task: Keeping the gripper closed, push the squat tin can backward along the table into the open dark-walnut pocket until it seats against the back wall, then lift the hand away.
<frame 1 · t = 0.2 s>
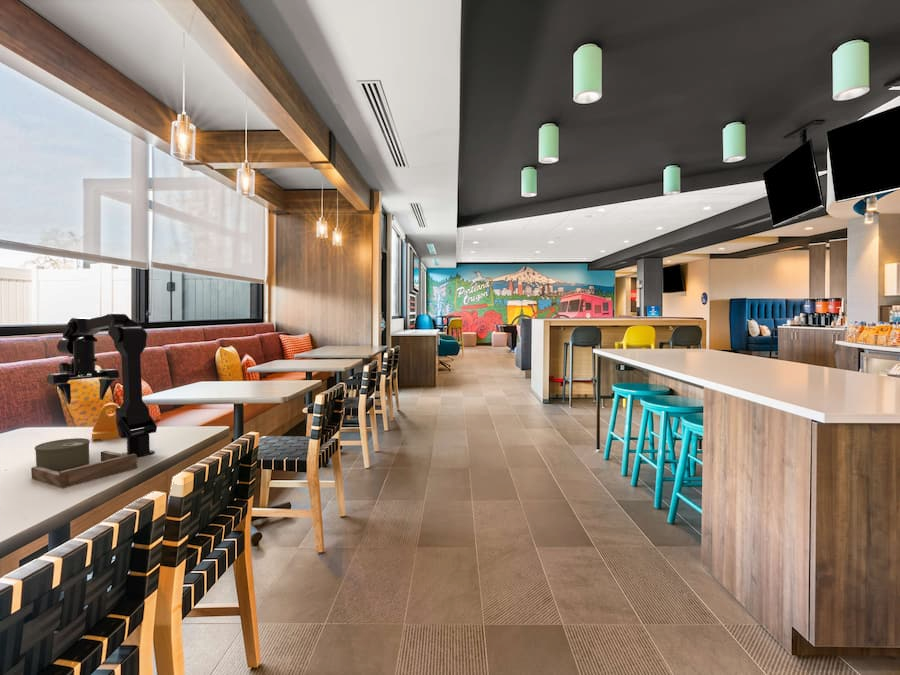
hand: (85, 401, 156), 14 cm above the table, fingers open, 9 cm apart
pocket: (84, 472, 127), on the table
bracket: (111, 438, 165), on the table
can: (63, 468, 132), on the table
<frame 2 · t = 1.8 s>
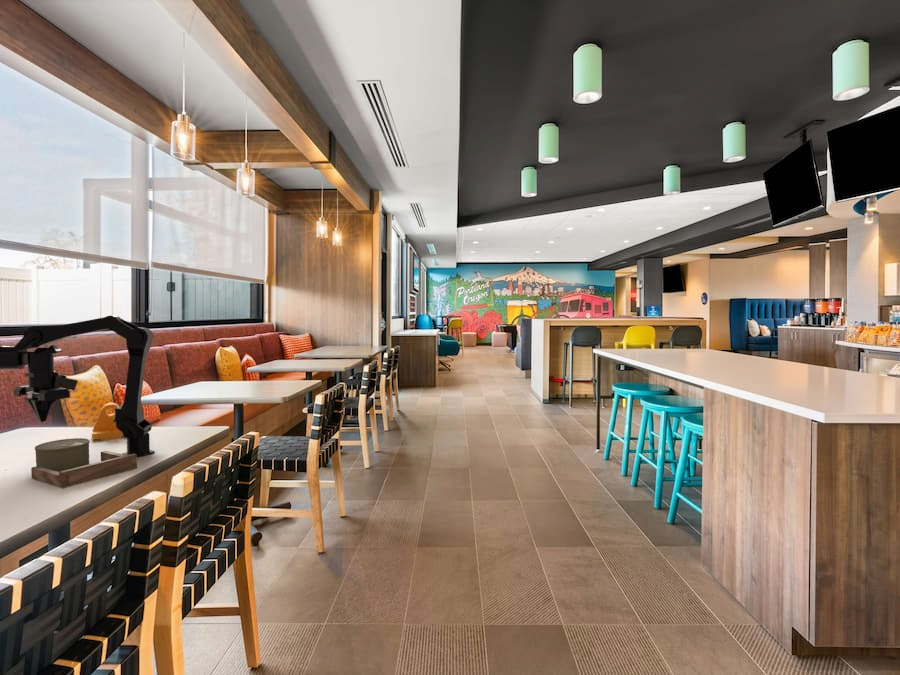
hand: (42, 421, 137), 12 cm above the table, fingers closed
nothing on the table moved.
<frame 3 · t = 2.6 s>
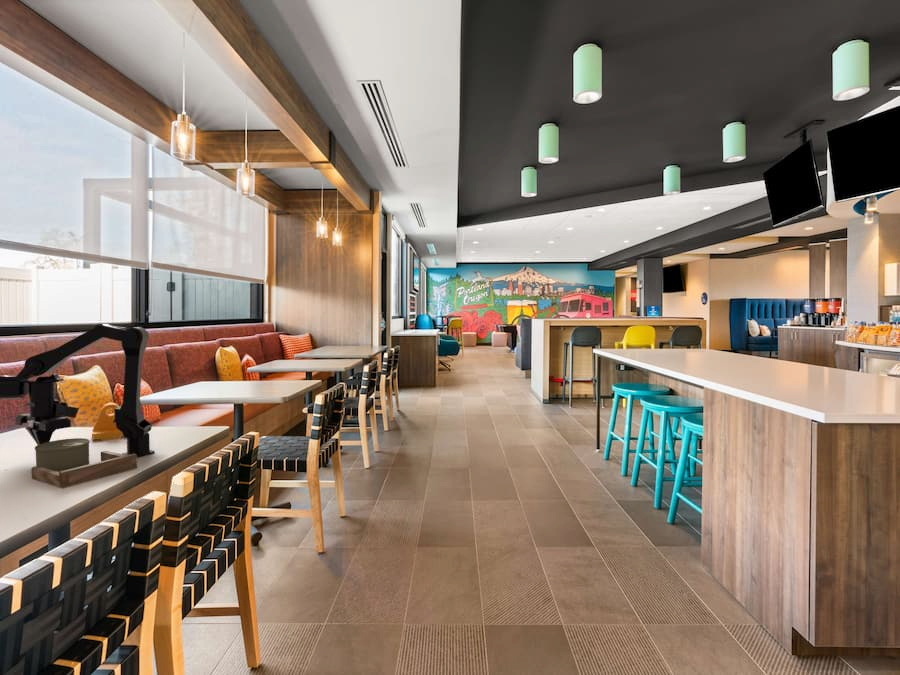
hand: (43, 450, 137), 3 cm above the table, fingers closed
nothing on the table moved.
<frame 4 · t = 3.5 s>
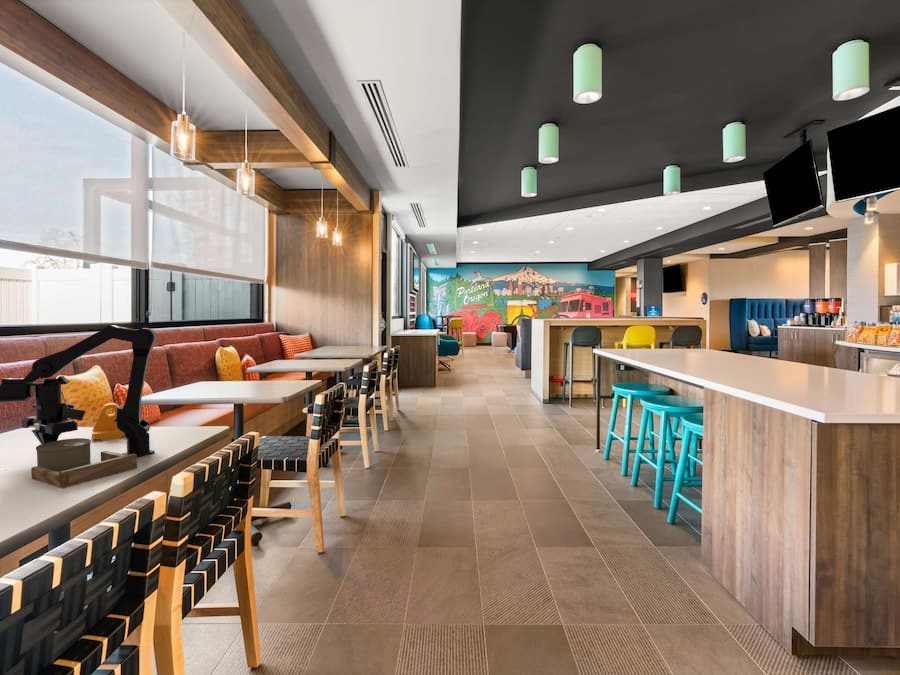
hand: (50, 453, 135), 3 cm above the table, fingers closed
can: (64, 468, 132), on the table, touching gripper
everything else where it was.
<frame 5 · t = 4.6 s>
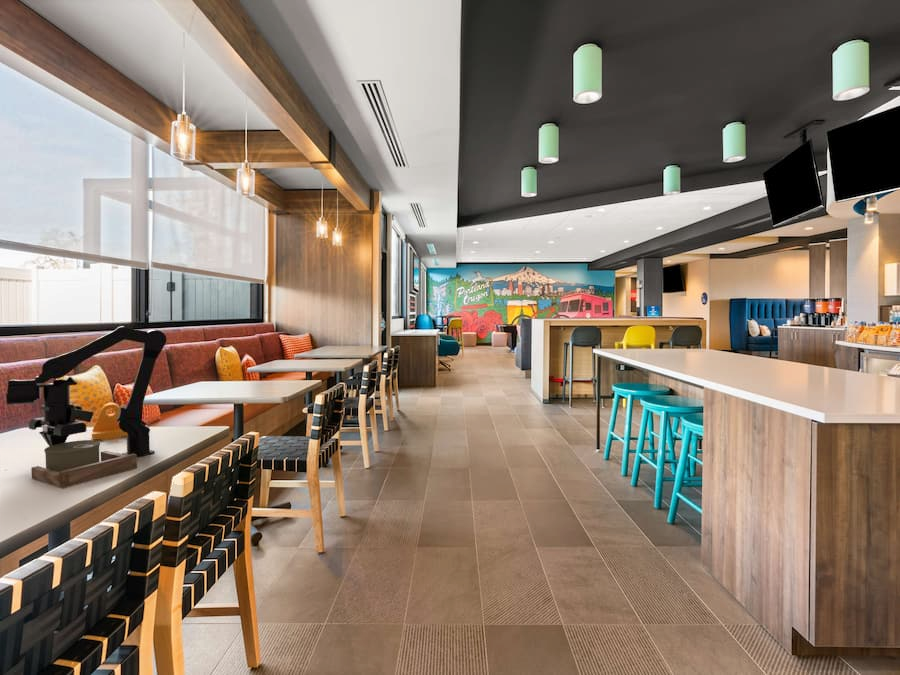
hand: (58, 455, 133), 3 cm above the table, fingers closed
can: (73, 470, 130), on the table, touching gripper
everything else where it was.
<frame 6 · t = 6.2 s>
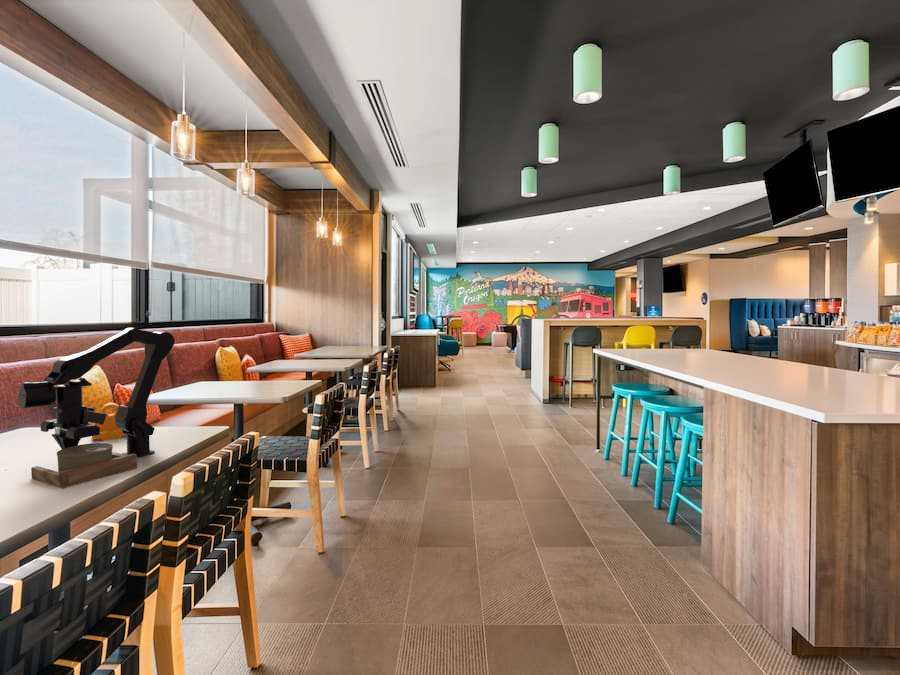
hand: (70, 458, 130), 3 cm above the table, fingers closed
can: (86, 474, 127), on the table, touching gripper, pocket
everything else where it was.
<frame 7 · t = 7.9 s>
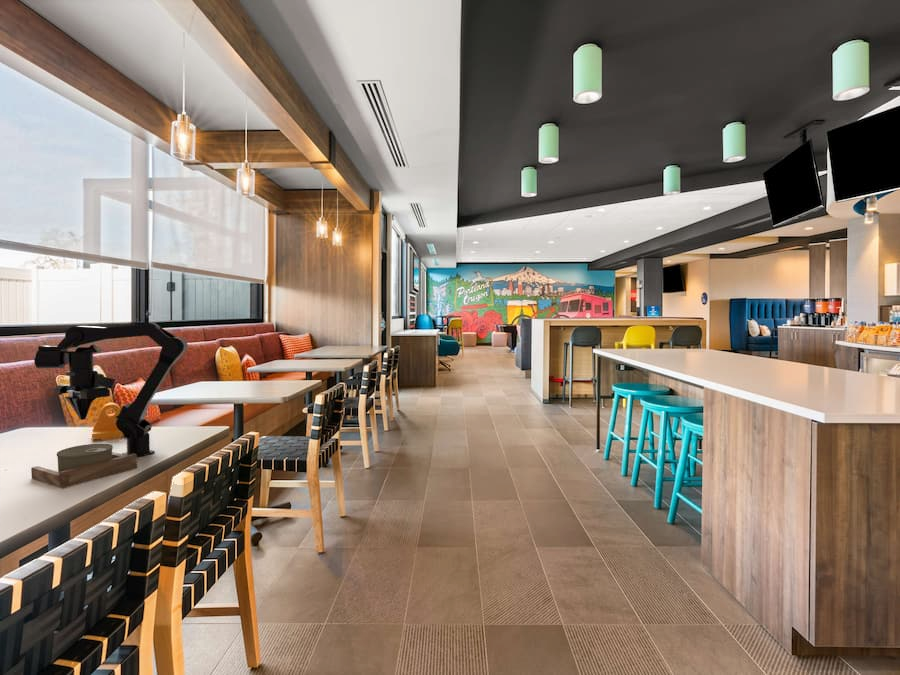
hand: (82, 419, 140), 12 cm above the table, fingers closed
can: (86, 474, 127), on the table
everything else where it was.
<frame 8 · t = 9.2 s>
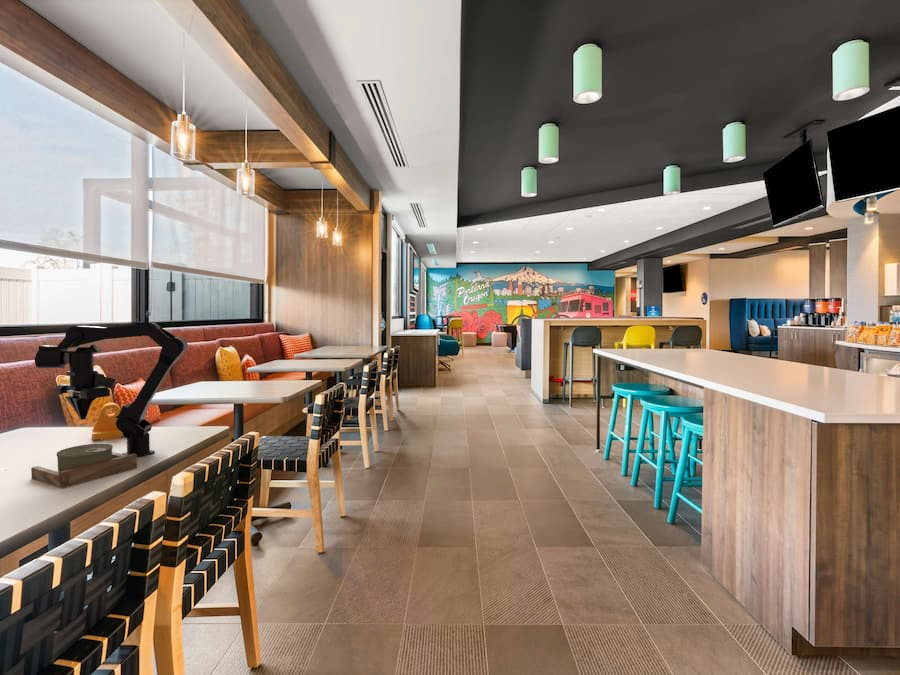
hand: (82, 419, 140), 12 cm above the table, fingers closed
nothing on the table moved.
at the end: can 1.2 cm off-centre on the pocket, point 0.0 cm above the pocket's base; can tilted 0° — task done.
